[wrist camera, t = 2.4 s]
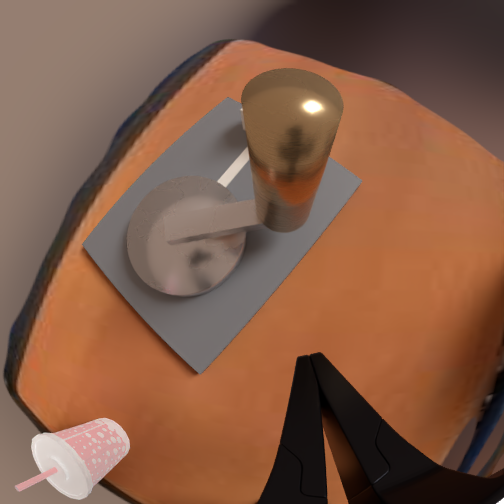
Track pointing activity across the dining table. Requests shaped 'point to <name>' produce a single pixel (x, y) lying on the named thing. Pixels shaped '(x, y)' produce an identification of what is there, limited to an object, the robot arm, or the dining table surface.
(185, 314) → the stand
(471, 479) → the robot arm
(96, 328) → the dining table surface
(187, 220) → the wall lamp
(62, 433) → the beverage cup
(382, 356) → the dining table surface
